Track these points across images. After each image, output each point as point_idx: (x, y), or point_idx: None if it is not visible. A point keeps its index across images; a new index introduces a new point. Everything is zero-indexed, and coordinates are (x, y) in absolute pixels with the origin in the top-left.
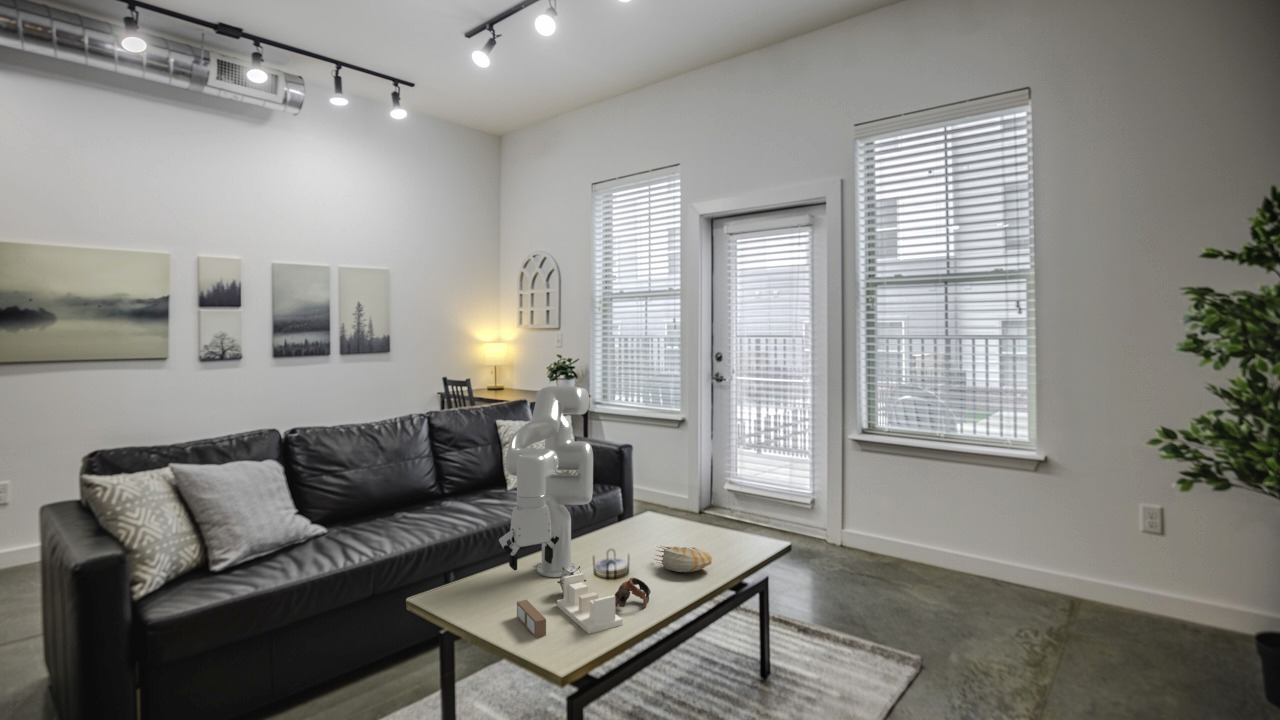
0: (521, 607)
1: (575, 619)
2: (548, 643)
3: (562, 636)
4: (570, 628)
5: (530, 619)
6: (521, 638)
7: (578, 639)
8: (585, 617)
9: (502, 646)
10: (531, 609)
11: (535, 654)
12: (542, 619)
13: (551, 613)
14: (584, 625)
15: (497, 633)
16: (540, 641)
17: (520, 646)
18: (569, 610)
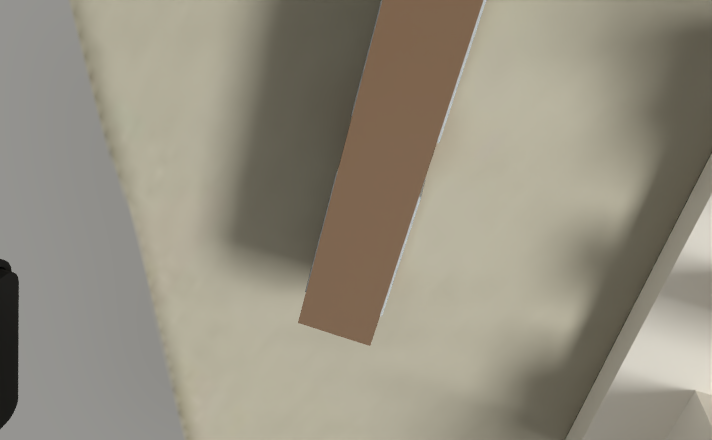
0: (372, 43)
1: (640, 310)
2: (338, 357)
3: (443, 359)
4: (548, 330)
5: (320, 233)
6: (259, 213)
7: (479, 436)
8: (677, 374)
9: (133, 207)
10: (394, 156)
11: (226, 382)
12: (350, 332)
13: (643, 74)
14: (588, 420)
15: (178, 51)
16: None
17: (209, 276)
18: (704, 223)
